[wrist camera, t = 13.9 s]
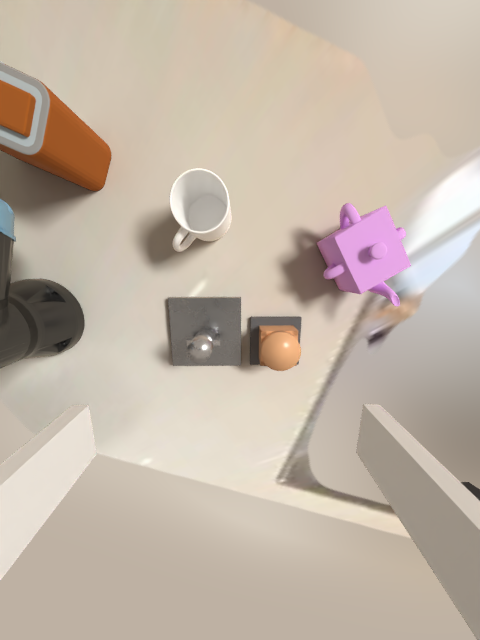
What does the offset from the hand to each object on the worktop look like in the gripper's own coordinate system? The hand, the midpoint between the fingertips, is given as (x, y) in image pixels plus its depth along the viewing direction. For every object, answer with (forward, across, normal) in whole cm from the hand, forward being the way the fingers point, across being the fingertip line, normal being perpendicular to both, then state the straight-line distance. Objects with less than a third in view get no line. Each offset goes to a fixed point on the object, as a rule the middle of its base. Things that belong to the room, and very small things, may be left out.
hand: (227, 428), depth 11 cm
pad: (+34, +8, -7) cm, 36 cm away
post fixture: (+34, -6, -6) cm, 35 cm away
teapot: (+34, +21, +9) cm, 41 cm away
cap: (+33, +8, -7) cm, 35 cm away
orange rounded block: (+35, -29, +27) cm, 53 cm away
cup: (+35, -6, +15) cm, 38 cm away
